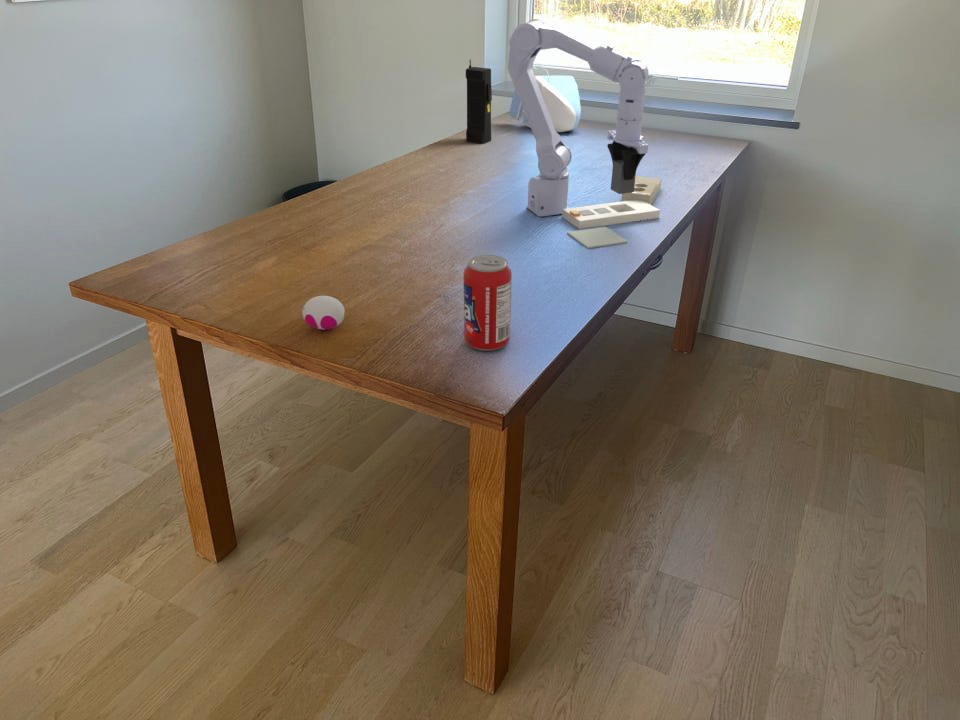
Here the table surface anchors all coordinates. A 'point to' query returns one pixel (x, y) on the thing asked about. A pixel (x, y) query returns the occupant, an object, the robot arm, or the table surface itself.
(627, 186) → the charger
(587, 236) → the mat
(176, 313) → the table surface
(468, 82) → the portable radio
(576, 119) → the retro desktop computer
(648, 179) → the electrical outlet
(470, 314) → the soda can
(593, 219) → the power strip
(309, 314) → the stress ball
